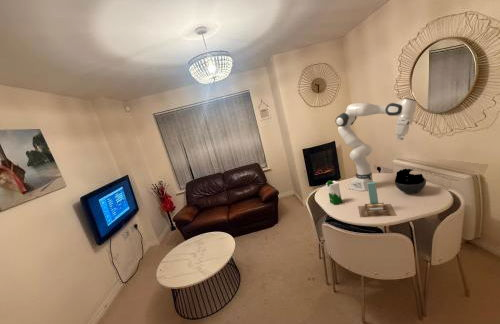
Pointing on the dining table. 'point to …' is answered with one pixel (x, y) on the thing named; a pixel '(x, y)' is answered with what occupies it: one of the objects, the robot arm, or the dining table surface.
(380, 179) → the dining table surface
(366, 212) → the offcut rack
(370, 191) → the teal slat
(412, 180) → the coal bowl
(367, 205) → the oak offcut
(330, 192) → the milk carton
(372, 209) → the grey offcut
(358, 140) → the robot arm
